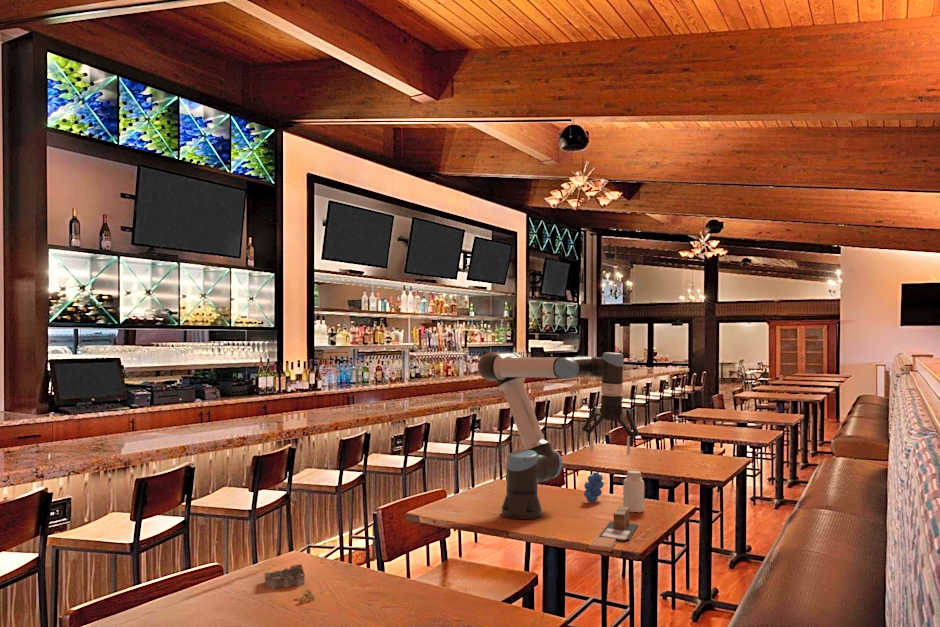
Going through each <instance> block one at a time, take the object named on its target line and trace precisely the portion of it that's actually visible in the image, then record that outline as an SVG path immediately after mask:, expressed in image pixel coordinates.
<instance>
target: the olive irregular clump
mask: <svg viewBox="0 0 940 627" xmlns="http://www.w3.org/2000/svg"><path fill="white" fill-rule="evenodd" d="M307 599H308V601H309V602H312V601H315V594H314V593H312V589H306V590H305V592H303V594H302V596H300V597H299V596H295V597H294V598H293V600H294V601H299V604H306V600H307Z"/></svg>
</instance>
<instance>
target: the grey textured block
mask: <svg viewBox="0 0 940 627" xmlns="http://www.w3.org/2000/svg"><path fill="white" fill-rule="evenodd" d="M263 573H264V584H265V588H266V589H271V590H274V589H276V588H279V587H282V588H284V589H285V588H289V587H290V586H297V587H301V586H302V585H304V584H305V577H306V575H305V572H304V568H303V564H295V565H294V564H293V565H291V566H290V567H289V568H284V569H281V570H275V571H272V572H269V571H268V572H266V571H265V572H263Z"/></svg>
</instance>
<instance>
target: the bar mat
mask: <svg viewBox="0 0 940 627" xmlns="http://www.w3.org/2000/svg"><path fill="white" fill-rule="evenodd" d="M638 527H639V524H638V523H629V525H628V526H627V528H626V530H627V531H631V533H630V534H629V536H628V538H627V539H626V540H629V541H630V540H631V539H630V538H632V537H633V536H634V534H635V532H636V530H637V529H638ZM607 528H609V529H614V521H609V522H608V523H607V525H606V526H605V528H604V529H603V530H602V531H601V533H600V534H599V536H598V537H602V535H603V533H604V532H605V531H606V529H607ZM636 528H637V529H636ZM633 533H634V534H633ZM631 536H632V537H631Z"/></svg>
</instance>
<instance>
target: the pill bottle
mask: <svg viewBox="0 0 940 627" xmlns="http://www.w3.org/2000/svg"><path fill="white" fill-rule="evenodd" d="M626 473H627V474H626V478H625V479H624V480H623V484H622V485H623V491H622V494H623V495H622V496H623V497H622V498H623V500H622V501H623V504H622V506H625V507H629V513H633V512H638V513H642V512H644V511H645V481H644V480H643V479H642V472H641V471H639V470H627V472H626Z"/></svg>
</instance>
